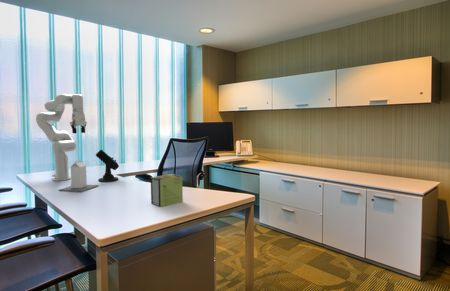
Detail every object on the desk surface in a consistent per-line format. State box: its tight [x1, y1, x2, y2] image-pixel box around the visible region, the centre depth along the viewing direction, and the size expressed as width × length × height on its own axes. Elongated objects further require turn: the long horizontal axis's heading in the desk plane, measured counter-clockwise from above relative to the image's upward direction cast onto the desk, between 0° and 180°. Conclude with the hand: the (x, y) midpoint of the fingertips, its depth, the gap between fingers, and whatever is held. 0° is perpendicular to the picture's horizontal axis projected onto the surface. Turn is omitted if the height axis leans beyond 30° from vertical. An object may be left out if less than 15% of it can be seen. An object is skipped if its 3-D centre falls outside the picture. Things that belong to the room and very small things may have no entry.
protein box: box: [150, 173, 184, 208], centre depth 173 cm, size 10×15×16 cm
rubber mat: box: [58, 184, 100, 193], centre depth 210 cm, size 18×18×1 cm
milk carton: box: [70, 159, 88, 188], centre depth 209 cm, size 7×7×19 cm
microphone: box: [95, 149, 120, 183], centre depth 237 cm, size 15×17×25 cm
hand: (78, 133), depth 229 cm, fingers open, 9 cm apart
